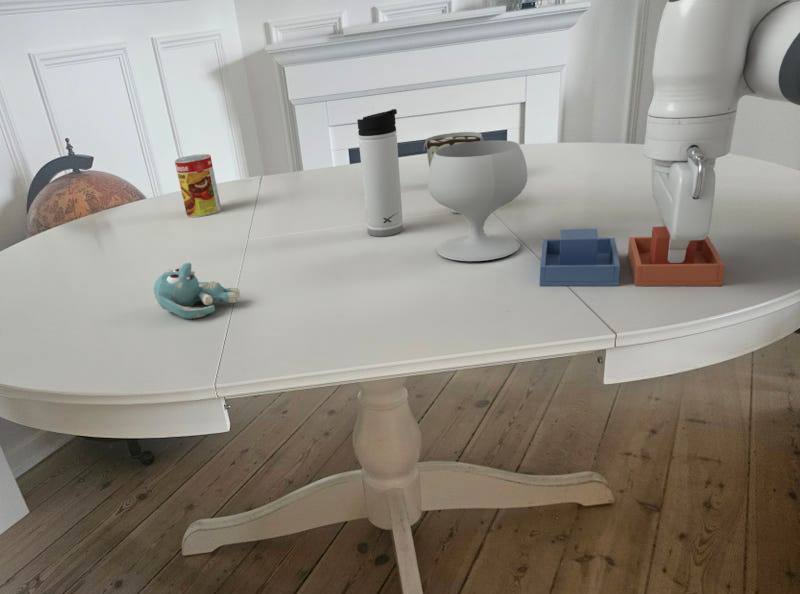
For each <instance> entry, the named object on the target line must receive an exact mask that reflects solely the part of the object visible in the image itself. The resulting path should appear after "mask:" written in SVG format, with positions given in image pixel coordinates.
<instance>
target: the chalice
mask: <svg viewBox="0 0 800 594" xmlns="http://www.w3.org/2000/svg"><path fill="white" fill-rule="evenodd" d="M527 182H528V167H527V161H526V157H525V155H524V151H523V150H522V148H521V146H520V144H519V143H518V142H515V141H511V140H502V139H501V140H499V139H498V140H497V139H495V140H493V139H491V140H484V141H475V142H467V143H460V144H455V145H451V146H447V147H444V148H441V149H439V150H437V151H436V152H435V154H434V156H433V158H432V161H431V165H430V168H429V169H428V175H427V189H428V192H429V194H430V196H431V197H432V199H434V201H435V202H437V203H438V204H440V205H441V206H443V207H445V208H447V209H449V210H450V209H452V210H454V211H456V212H458V213H457V214H459V213H460V215H461V216H463V217H464V218H466V220H467V221H468V222H469V224H470V228H471V230H470V234H467V235H461V236H457V237H454V238H451V239H449V240H445V241H444V242H443V243H441V244H440V245H439V246H438V247H437V251H436V252H437V253H438V254H439V255H440V256H441V257H443V258H445V259H449V260H452V261H460V262H481V261H489V260H490V261H491V260H495V259H502V258H504V257H507V256H510V255H512V254H514V253H516V252H517V251H518V250H519V248H520V243H519V241H517V240H516V239H514V238H513V237H510V236H506V235H502V234H492V233H485V227H484V226H485V223H486V221H487V219H488V218H489V217H490V216H491V215H492V214H493V213H494V212H496V211H497V210H498V209H500V208H502V207H504V206H505V205H508V204H509V203H511V202H512V201H513V200H515V199H516V198H518V197H519V196H520V195H521V193H522V192H523V190H524V189H525V188H526V186H527Z"/></svg>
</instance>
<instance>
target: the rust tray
mask: <svg viewBox="0 0 800 594" xmlns="http://www.w3.org/2000/svg"><path fill="white" fill-rule="evenodd" d="M651 237H652V236H635V237H634V236H630V237H628V247H627V248H628V249H627V258H628V262H629V267H630V271H631V275H632V279H633V284H634V286H635V287H722V286H723V280H724V277H725V270H726V263H725V262H724V261H723V259H722V257H721V255H720V254H719V252H718V251H717V249H716V247H715V246H714V244H713V242H712V240H711V239H710V237H709V235H707V237H706V239H704V240H697V245H696V252H695V258H694V264H650V261H649V254H650V246H651Z"/></svg>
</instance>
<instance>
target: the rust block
mask: <svg viewBox="0 0 800 594" xmlns="http://www.w3.org/2000/svg"><path fill="white" fill-rule="evenodd" d="M650 237H651V246H650V254H649V261H650V264H694V258H695V252H696V245H697V240H691V241H690V242H689V244H688V247H687V249H686V255H685V260H684V262H682V263H670V262H669V261H668V259H667V249H668V245H669V241H670V234H669V232H668V230H667V227H662V226H652V229H651V236H650Z"/></svg>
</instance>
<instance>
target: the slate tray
mask: <svg viewBox="0 0 800 594" xmlns="http://www.w3.org/2000/svg"><path fill="white" fill-rule="evenodd" d="M559 258H560V238H543V239H542V246H541V256H540V266H539V268H540V269H539V287H619V285H620V276H621V275H620V274H621V264H620V259H619V252H618V247H617V243H616V238H615V237H598V247H597V260H596V265H559Z"/></svg>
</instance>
